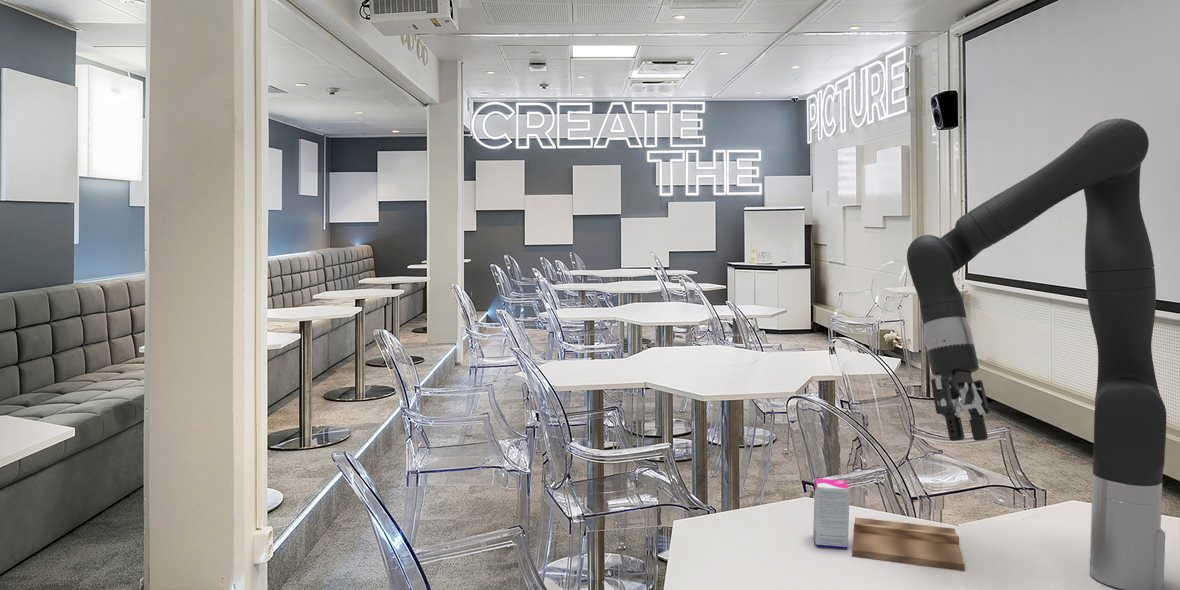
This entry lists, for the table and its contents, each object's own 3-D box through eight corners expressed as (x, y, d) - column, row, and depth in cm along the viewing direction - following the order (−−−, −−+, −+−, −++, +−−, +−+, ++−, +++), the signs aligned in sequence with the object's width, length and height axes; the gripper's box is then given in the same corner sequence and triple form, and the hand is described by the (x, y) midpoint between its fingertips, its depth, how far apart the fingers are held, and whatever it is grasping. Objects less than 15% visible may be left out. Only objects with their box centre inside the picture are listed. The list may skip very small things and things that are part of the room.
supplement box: (849, 550, 135) (849, 488, 134) (815, 548, 136) (816, 487, 135) (844, 538, 140) (845, 479, 140) (812, 536, 142) (813, 477, 141)
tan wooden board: (954, 534, 141) (954, 520, 141) (964, 571, 126) (964, 555, 125) (854, 523, 148) (855, 509, 148) (852, 556, 132) (852, 541, 132)
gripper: (951, 338, 122) (972, 438, 117) (990, 345, 131) (1010, 437, 126) (908, 348, 127) (927, 443, 123) (948, 353, 136) (967, 442, 132)
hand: (969, 440), depth 125 cm, fingers open, 8 cm apart
